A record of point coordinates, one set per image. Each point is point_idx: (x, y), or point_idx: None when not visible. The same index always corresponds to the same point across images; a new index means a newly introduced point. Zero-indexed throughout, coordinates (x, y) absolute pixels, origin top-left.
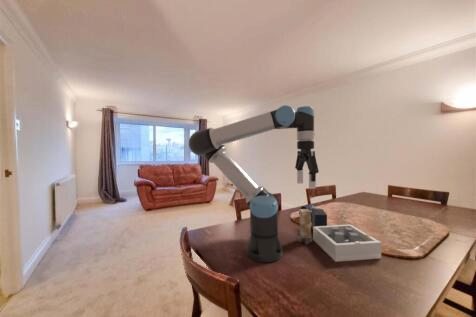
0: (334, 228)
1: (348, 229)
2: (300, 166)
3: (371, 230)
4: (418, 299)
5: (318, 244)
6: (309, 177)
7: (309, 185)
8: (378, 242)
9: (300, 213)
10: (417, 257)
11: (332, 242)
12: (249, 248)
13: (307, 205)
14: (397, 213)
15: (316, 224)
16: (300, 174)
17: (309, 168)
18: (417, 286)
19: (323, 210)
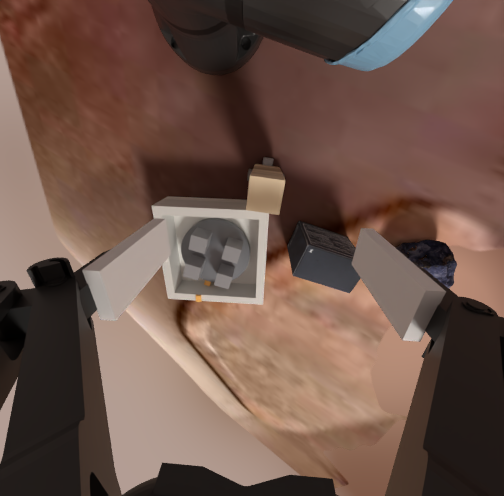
0: (227, 251)
1: (217, 277)
2: (432, 359)
3: (284, 337)
4: (80, 249)
5: (240, 199)
6: (110, 252)
7: (147, 225)
8: (167, 294)
9: (272, 176)
10: (182, 326)
11: (166, 207)
12: None
13: (442, 281)
14: (344, 421)
15: (300, 235)
16: (389, 288)
17: (41, 315)
18: None
19: (336, 288)
